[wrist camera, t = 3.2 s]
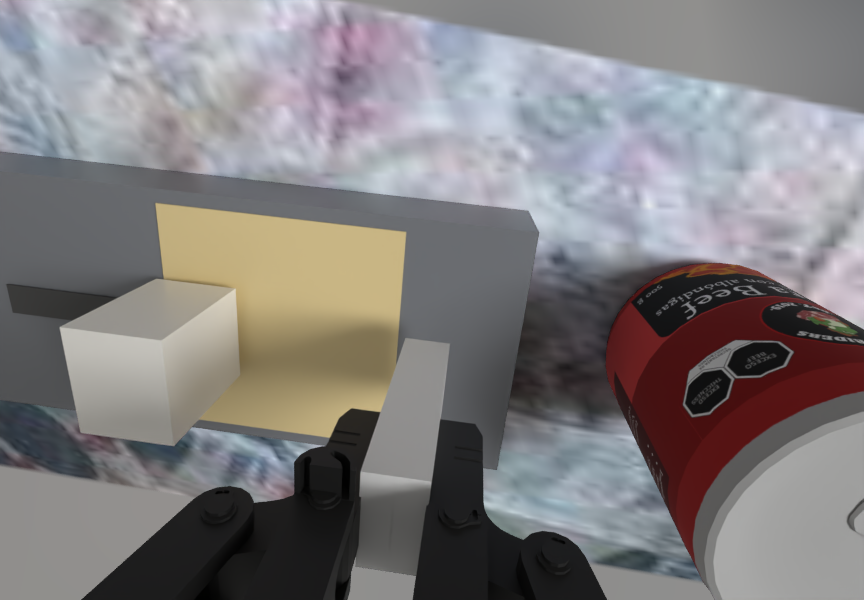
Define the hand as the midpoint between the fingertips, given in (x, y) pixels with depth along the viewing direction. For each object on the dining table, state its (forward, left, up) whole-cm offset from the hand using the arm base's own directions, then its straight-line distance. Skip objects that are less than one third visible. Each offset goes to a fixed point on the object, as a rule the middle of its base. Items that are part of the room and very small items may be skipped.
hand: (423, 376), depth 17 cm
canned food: (-11, 0, -6) cm, 13 cm away
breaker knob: (+9, 0, -2) cm, 9 cm away
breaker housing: (+9, 0, -6) cm, 11 cm away
